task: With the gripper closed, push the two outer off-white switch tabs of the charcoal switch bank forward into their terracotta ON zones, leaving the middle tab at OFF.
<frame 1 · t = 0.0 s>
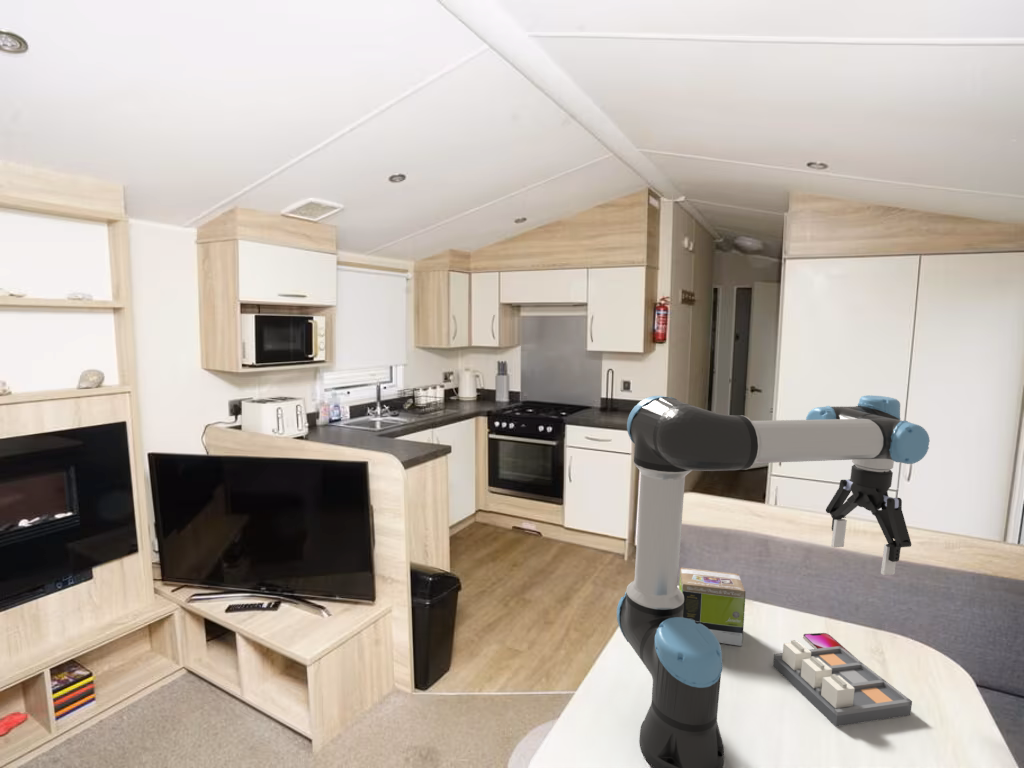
hand: (861, 559, 122), 28 cm above the table, fingers open, 13 cm apart
tab b: (816, 671, 119), point 5 cm above the table, slide at 0.0 cm
smartphone: (834, 655, 134), on the table
switch bank: (837, 689, 121), on the table
tab c: (796, 654, 125), point 5 cm above the table, slide at 0.0 cm
tab a: (837, 689, 113), point 5 cm above the table, slide at 0.0 cm
tea box: (707, 632, 142), on the table
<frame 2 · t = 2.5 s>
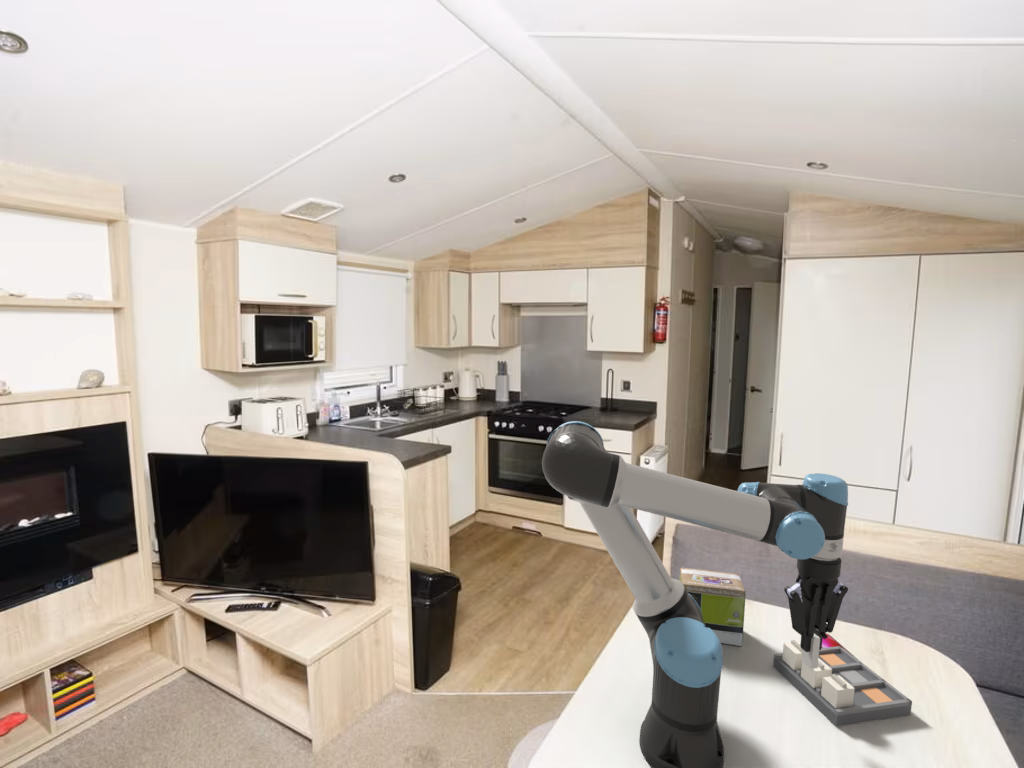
hand: (809, 664, 111), 12 cm above the table, fingers closed
nothing on the table moved.
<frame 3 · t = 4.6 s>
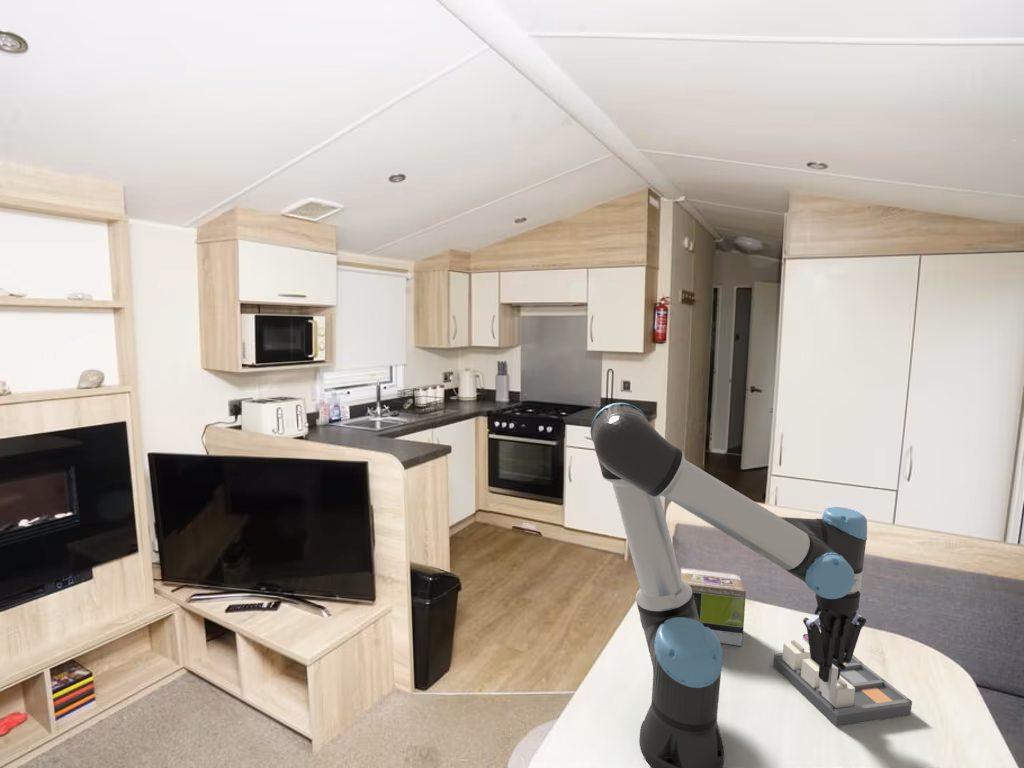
hand: (827, 693, 113), 5 cm above the table, fingers closed
tab a: (838, 689, 113), point 5 cm above the table, slide at 0.1 cm, touching gripper
everything else where it was.
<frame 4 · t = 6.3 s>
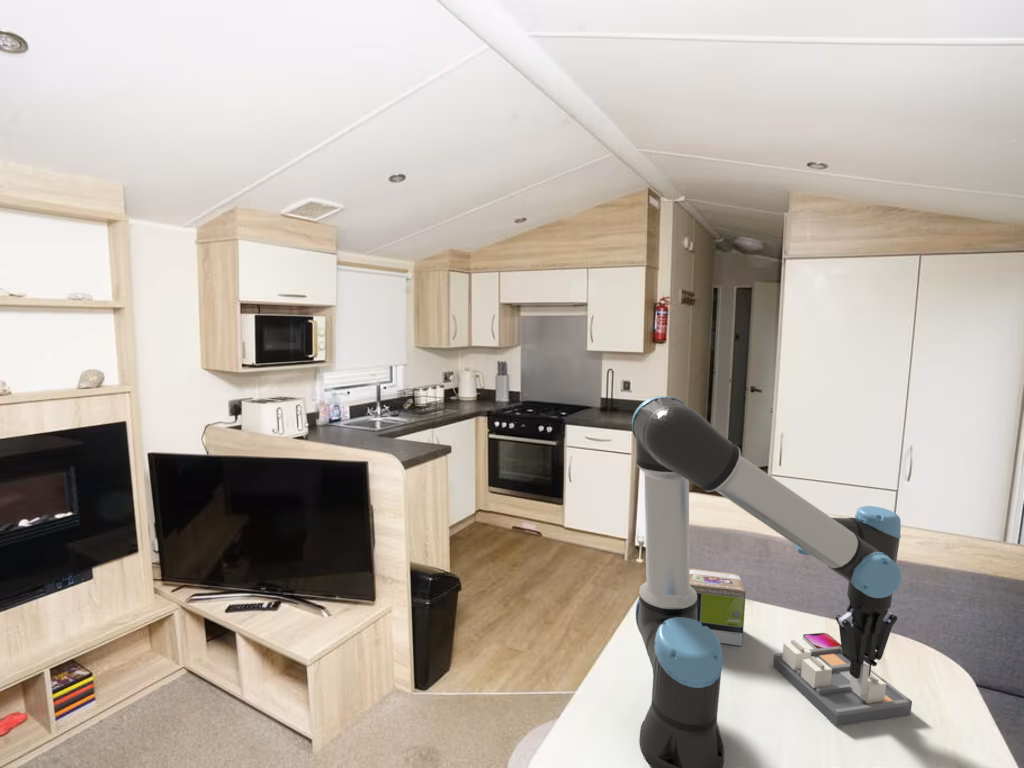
hand: (857, 690, 114), 4 cm above the table, fingers closed
tab a: (869, 685, 115), point 5 cm above the table, slide at 7.7 cm, touching gripper
everything else where it was.
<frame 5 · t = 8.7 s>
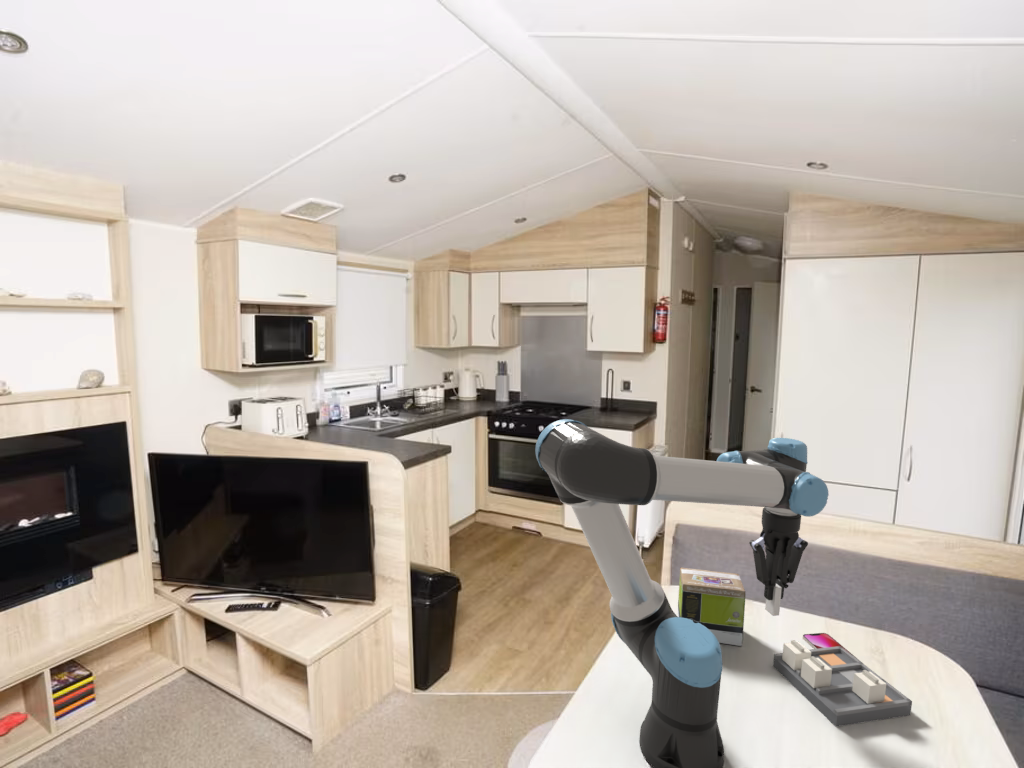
hand: (772, 612, 122), 16 cm above the table, fingers closed
tab a: (869, 685, 115), point 5 cm above the table, slide at 7.7 cm
everything else where it was.
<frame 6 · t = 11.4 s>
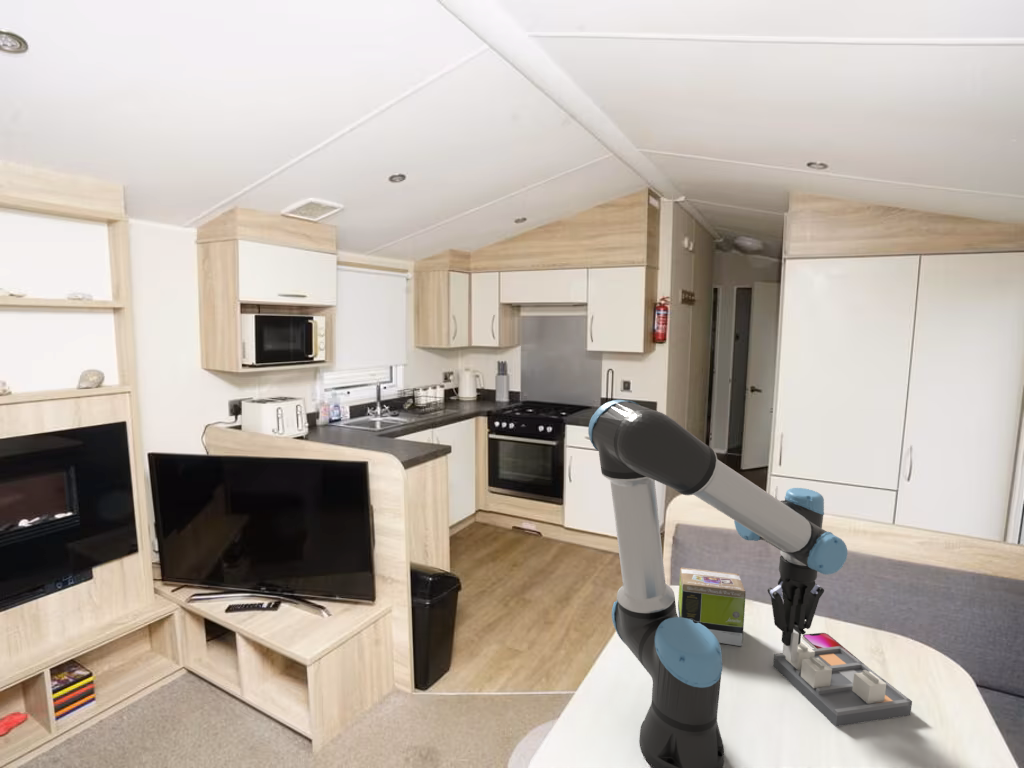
hand: (789, 656, 125), 5 cm above the table, fingers closed
tab c: (800, 653, 125), point 5 cm above the table, slide at 0.9 cm, touching gripper
everything else where it was.
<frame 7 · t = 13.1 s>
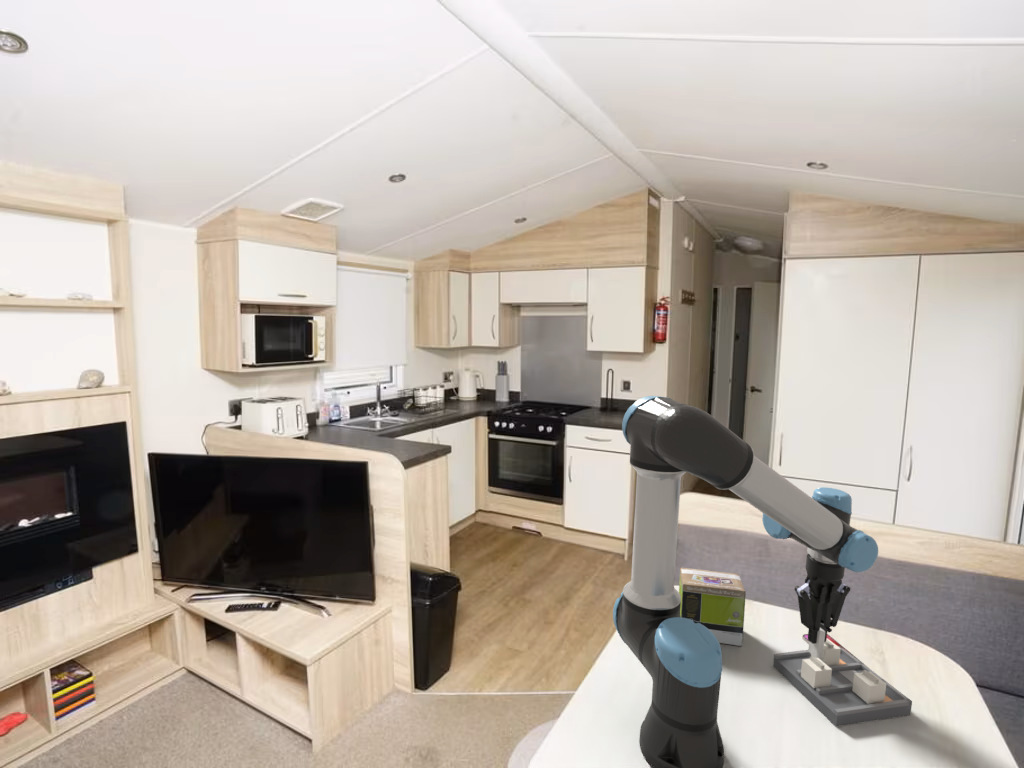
hand: (815, 654, 126), 4 cm above the table, fingers closed
tab c: (825, 650, 127), point 5 cm above the table, slide at 7.7 cm, touching gripper
everything else where it was.
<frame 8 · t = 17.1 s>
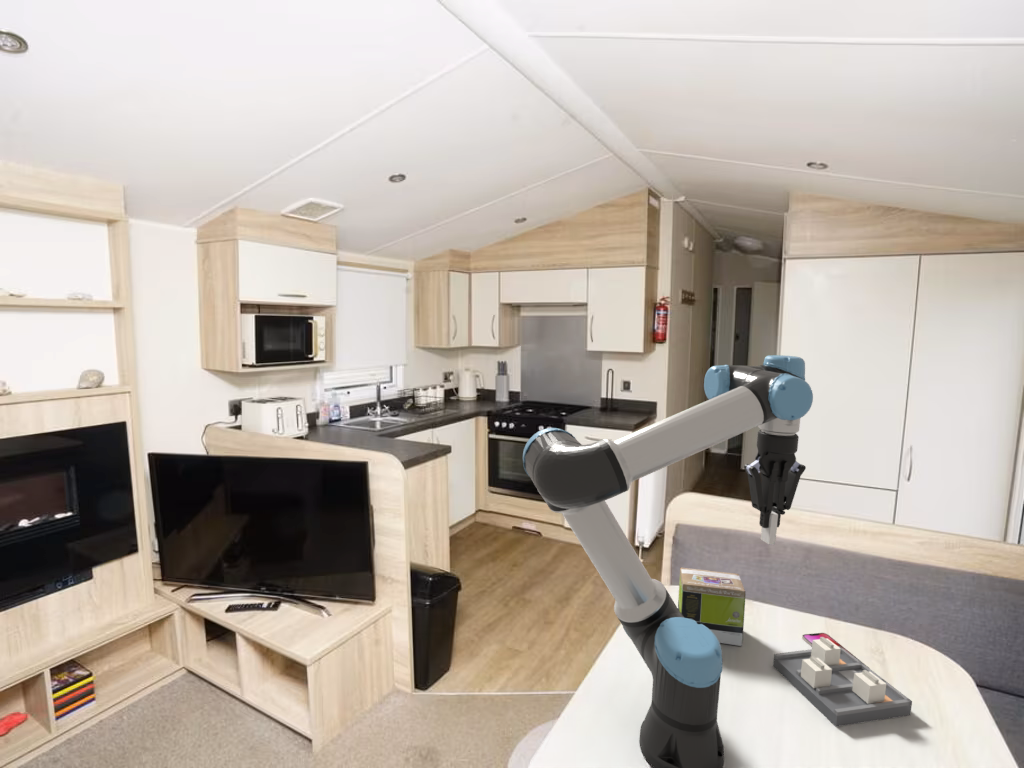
hand: (767, 541, 115), 34 cm above the table, fingers closed
tab c: (825, 650, 127), point 5 cm above the table, slide at 7.7 cm
everything else where it was.
at the end: tab a slide at 7.7 cm; tab c slide at 7.7 cm; tab b slide at 0.0 cm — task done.
